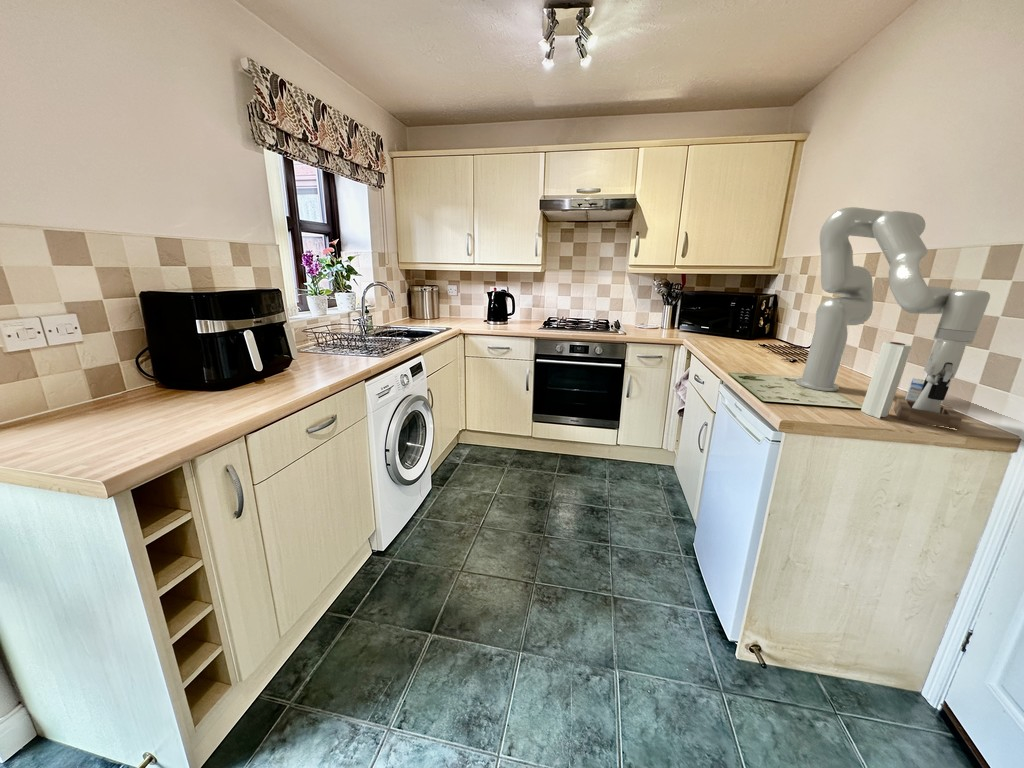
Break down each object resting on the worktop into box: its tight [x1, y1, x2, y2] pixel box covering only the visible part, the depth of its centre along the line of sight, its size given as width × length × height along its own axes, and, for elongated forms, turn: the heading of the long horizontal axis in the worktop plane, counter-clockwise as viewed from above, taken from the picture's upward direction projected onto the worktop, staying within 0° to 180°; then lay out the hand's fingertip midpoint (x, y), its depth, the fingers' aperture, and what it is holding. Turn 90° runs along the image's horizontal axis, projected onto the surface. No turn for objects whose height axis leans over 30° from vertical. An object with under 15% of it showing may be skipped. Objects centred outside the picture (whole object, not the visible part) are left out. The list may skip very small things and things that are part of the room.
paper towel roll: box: [860, 341, 912, 420], centre depth 117 cm, size 7×6×21 cm
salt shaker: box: [912, 375, 942, 413], centre depth 116 cm, size 6×6×13 cm
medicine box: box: [904, 378, 925, 401], centre depth 127 cm, size 8×4×9 cm, turn 134°
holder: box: [893, 397, 963, 430], centre depth 118 cm, size 12×12×4 cm
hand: (932, 395), depth 116 cm, fingers open, 9 cm apart
